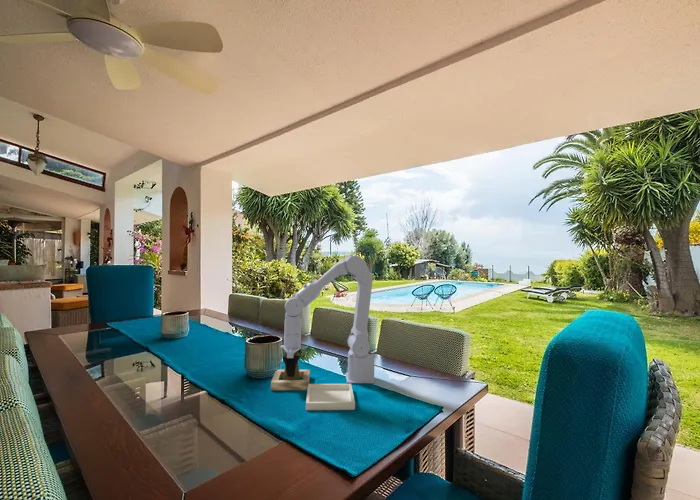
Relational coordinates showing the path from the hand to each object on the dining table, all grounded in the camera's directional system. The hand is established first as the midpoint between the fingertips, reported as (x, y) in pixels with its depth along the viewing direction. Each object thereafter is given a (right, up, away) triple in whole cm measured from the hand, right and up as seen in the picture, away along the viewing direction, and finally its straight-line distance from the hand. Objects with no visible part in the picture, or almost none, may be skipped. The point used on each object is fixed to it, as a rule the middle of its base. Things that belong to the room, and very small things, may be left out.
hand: (291, 372), depth 115 cm
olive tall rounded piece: (0, -4, 0) cm, 4 cm away
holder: (0, -3, 0) cm, 3 cm away
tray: (+14, -4, -12) cm, 19 cm away
